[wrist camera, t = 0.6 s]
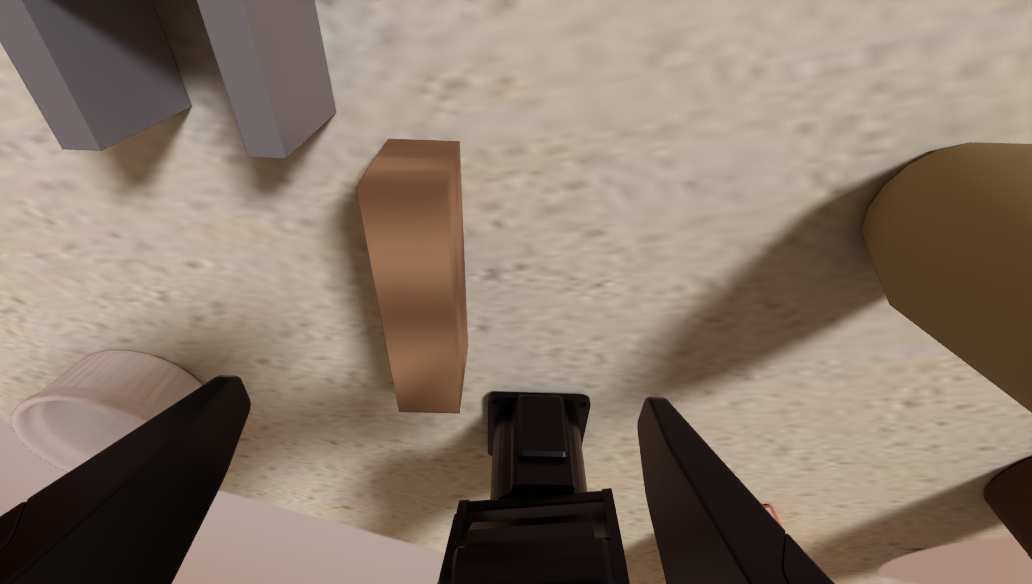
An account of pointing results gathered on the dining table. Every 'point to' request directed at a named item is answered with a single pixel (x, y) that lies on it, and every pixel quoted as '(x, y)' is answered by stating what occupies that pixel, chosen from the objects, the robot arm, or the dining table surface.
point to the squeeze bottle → (963, 255)
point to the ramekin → (98, 405)
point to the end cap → (168, 68)
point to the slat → (419, 268)
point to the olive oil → (1014, 501)
